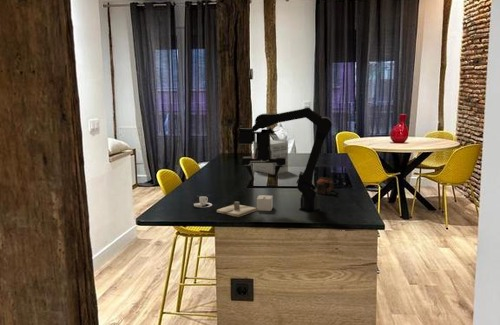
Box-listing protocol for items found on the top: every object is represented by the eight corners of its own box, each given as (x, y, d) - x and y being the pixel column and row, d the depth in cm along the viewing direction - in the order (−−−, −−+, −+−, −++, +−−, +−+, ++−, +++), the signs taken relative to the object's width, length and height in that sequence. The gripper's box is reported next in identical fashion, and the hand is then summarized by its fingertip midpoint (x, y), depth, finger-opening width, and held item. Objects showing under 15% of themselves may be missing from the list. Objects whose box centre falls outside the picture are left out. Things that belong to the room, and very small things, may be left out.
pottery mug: (309, 192, 227) (313, 176, 229) (324, 199, 231) (327, 183, 233) (324, 191, 216) (328, 174, 218) (340, 197, 220) (343, 181, 222)
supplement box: (253, 170, 282) (252, 141, 279) (268, 167, 291) (268, 139, 288) (272, 174, 269) (272, 143, 266) (288, 171, 278) (288, 141, 275)
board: (257, 210, 195) (256, 201, 194) (238, 217, 186) (238, 207, 185) (235, 206, 203) (235, 197, 202) (216, 212, 193) (216, 202, 193)
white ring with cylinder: (195, 209, 200) (195, 200, 199) (189, 205, 207) (189, 196, 206) (214, 206, 203) (214, 197, 203) (208, 202, 210) (208, 194, 210)
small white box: (272, 206, 200) (272, 194, 199) (271, 210, 194) (271, 198, 193) (259, 206, 201) (258, 194, 200) (256, 210, 195) (256, 198, 194)
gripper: (287, 141, 200) (288, 177, 203) (244, 141, 203) (245, 176, 206) (285, 145, 189) (285, 182, 192) (240, 145, 192) (241, 182, 195)
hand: (264, 180), depth 196 cm, fingers open, 9 cm apart
